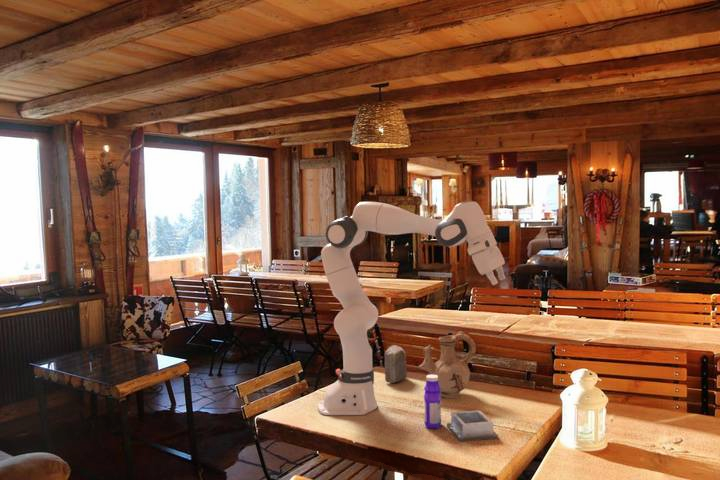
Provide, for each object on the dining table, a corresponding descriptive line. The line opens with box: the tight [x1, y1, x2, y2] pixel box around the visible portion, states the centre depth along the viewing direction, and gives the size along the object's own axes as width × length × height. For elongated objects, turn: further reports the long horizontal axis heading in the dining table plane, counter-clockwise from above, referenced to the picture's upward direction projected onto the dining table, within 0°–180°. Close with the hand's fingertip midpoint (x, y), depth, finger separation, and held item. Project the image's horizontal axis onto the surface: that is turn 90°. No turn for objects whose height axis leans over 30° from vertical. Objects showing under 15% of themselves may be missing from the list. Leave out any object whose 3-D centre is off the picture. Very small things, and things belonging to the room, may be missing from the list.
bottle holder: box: [446, 409, 499, 443], centre depth 184 cm, size 13×13×5 cm
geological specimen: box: [384, 344, 408, 384], centre depth 241 cm, size 11×6×15 cm, turn 147°
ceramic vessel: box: [417, 333, 477, 399], centre depth 221 cm, size 18×19×25 cm
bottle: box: [423, 374, 442, 430], centre depth 190 cm, size 7×6×17 cm
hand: (499, 281), depth 188 cm, fingers open, 8 cm apart
